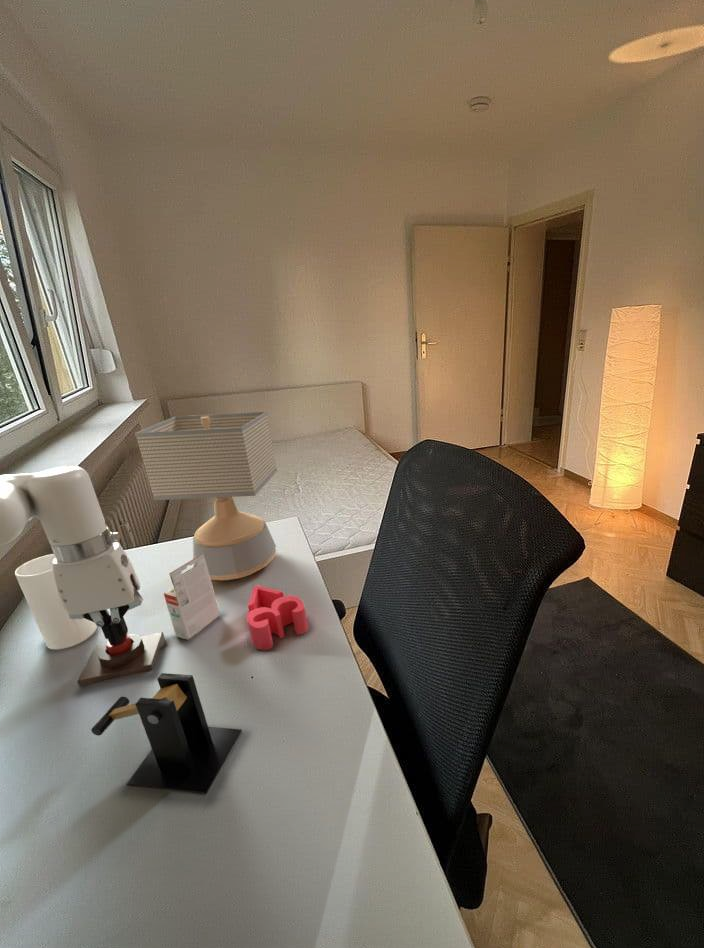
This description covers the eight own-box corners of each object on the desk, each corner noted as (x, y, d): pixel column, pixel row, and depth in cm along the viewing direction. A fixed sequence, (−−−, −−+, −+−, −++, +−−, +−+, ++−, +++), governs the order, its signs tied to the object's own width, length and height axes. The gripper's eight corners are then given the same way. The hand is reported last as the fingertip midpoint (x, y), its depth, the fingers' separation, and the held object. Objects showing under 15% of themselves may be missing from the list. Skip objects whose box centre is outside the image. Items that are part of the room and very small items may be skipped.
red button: (105, 657, 75) (102, 649, 74) (112, 643, 78) (109, 635, 77) (129, 652, 75) (126, 644, 75) (134, 639, 79) (132, 631, 78)
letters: (235, 615, 89) (230, 594, 87) (283, 596, 95) (280, 576, 93) (258, 653, 78) (253, 630, 77) (311, 629, 84) (307, 607, 82)
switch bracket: (129, 790, 56) (97, 715, 52) (172, 729, 65) (149, 660, 60) (208, 799, 55) (183, 723, 50) (243, 735, 63) (224, 664, 58)
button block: (81, 691, 73) (73, 672, 71) (100, 654, 81) (93, 637, 79) (154, 674, 75) (148, 656, 74) (165, 640, 83) (160, 623, 82)
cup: (35, 646, 84) (2, 574, 78) (74, 619, 91) (47, 551, 85) (69, 652, 82) (38, 578, 76) (107, 623, 89) (81, 554, 83)
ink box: (175, 636, 84) (154, 570, 79) (207, 612, 91) (191, 549, 86) (188, 641, 83) (169, 574, 77) (221, 616, 89) (205, 552, 84)
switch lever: (98, 739, 57) (86, 726, 56) (126, 707, 61) (115, 694, 60) (169, 721, 53) (158, 706, 53) (193, 689, 58) (183, 675, 57)
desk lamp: (292, 545, 116) (268, 406, 103) (270, 586, 99) (237, 424, 85) (211, 548, 117) (177, 411, 104) (175, 589, 100) (128, 430, 86)
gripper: (141, 526, 74) (170, 616, 81) (39, 543, 71) (78, 635, 78) (128, 547, 68) (161, 642, 74) (15, 566, 64) (60, 665, 71)
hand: (118, 638), depth 76 cm, fingers closed
